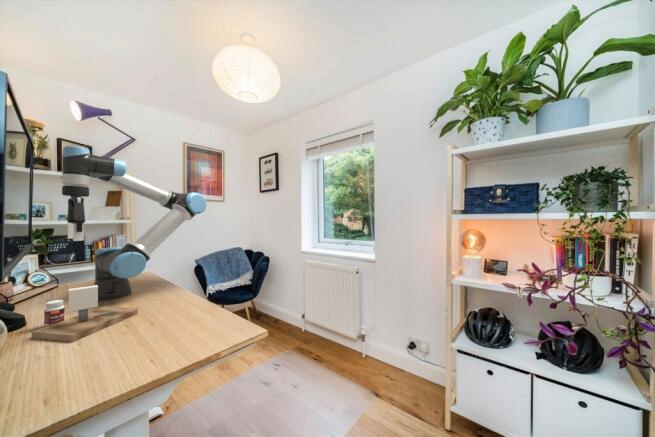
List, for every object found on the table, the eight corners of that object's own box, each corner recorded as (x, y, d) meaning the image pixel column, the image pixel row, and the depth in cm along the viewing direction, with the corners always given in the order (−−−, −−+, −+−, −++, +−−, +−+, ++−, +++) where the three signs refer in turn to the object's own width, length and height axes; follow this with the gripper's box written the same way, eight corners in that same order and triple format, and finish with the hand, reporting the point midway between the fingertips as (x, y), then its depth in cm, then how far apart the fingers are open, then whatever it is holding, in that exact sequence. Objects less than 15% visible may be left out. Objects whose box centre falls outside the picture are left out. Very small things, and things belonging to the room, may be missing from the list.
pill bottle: (50, 329, 82) (50, 304, 82) (40, 328, 83) (40, 303, 83) (68, 323, 87) (68, 299, 87) (58, 322, 88) (58, 298, 88)
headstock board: (104, 311, 98) (104, 306, 98) (137, 313, 96) (137, 308, 96) (31, 338, 76) (31, 331, 76) (73, 341, 74) (73, 334, 74)
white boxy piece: (68, 322, 83) (68, 288, 83) (115, 312, 91) (115, 282, 91) (68, 324, 81) (68, 290, 80) (116, 314, 89) (116, 284, 89)
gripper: (57, 187, 102) (57, 238, 102) (67, 182, 87) (66, 242, 87) (82, 188, 108) (82, 237, 108) (96, 185, 93) (95, 241, 93)
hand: (75, 239), depth 97 cm, fingers open, 13 cm apart
